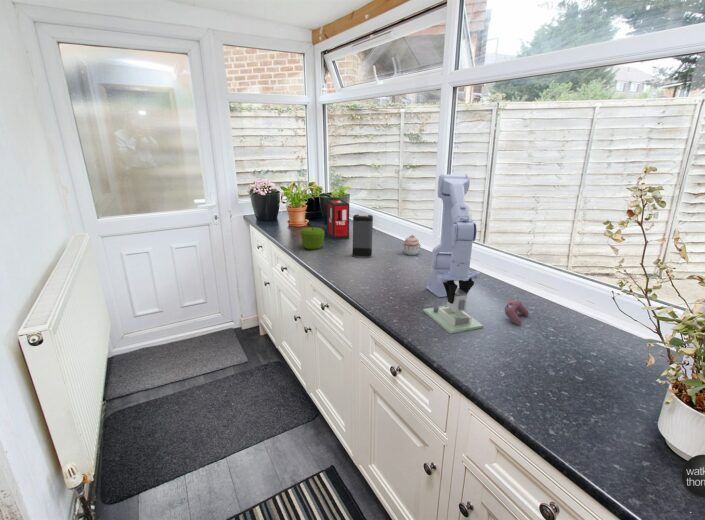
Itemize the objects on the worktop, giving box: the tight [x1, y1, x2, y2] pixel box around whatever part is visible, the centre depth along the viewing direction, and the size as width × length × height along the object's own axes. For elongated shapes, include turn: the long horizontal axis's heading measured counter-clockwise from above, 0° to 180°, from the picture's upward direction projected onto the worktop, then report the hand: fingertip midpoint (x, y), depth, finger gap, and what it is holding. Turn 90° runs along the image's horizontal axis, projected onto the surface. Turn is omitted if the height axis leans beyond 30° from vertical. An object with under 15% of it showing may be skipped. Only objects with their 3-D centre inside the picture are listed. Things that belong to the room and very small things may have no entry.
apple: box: [300, 226, 326, 251], centre depth 194 cm, size 12×12×11 cm
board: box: [423, 305, 484, 335], centre depth 121 cm, size 16×12×3 cm
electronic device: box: [352, 214, 374, 259], centre depth 181 cm, size 9×6×20 cm, turn 84°
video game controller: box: [504, 299, 529, 326], centre depth 122 cm, size 10×5×7 cm, turn 141°
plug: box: [446, 286, 468, 313], centre depth 117 cm, size 6×4×6 cm, turn 19°
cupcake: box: [402, 234, 422, 256], centre depth 187 cm, size 9×9×10 cm
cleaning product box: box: [326, 199, 350, 241], centre depth 218 cm, size 16×9×20 cm, turn 17°
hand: (455, 301), depth 118 cm, fingers closed on plug, 3 cm apart
